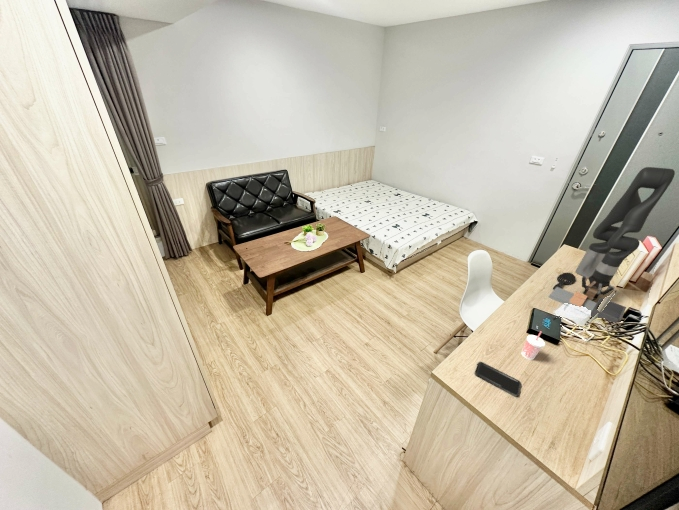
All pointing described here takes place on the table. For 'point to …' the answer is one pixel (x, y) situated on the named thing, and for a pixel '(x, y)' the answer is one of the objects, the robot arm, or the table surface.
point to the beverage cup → (532, 346)
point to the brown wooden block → (591, 293)
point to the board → (565, 297)
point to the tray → (609, 311)
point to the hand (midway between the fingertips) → (589, 296)
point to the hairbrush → (564, 277)
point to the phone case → (580, 328)
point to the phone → (498, 379)
